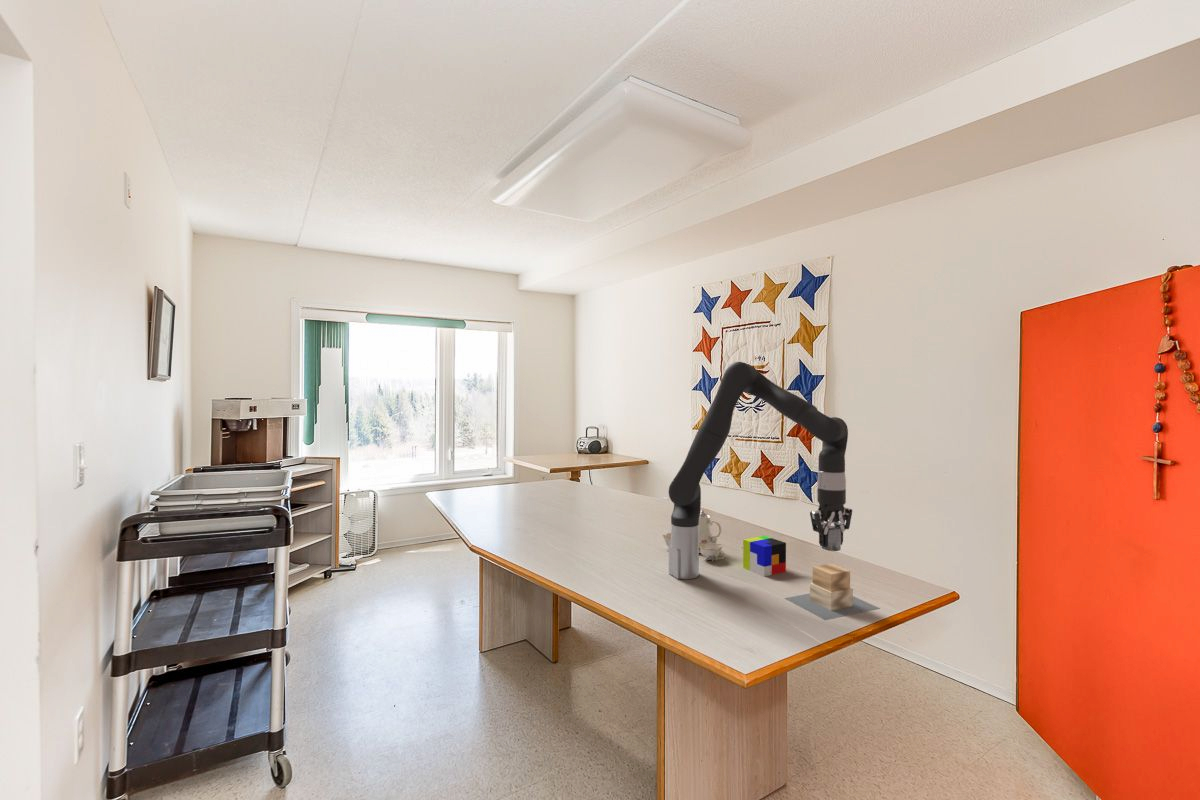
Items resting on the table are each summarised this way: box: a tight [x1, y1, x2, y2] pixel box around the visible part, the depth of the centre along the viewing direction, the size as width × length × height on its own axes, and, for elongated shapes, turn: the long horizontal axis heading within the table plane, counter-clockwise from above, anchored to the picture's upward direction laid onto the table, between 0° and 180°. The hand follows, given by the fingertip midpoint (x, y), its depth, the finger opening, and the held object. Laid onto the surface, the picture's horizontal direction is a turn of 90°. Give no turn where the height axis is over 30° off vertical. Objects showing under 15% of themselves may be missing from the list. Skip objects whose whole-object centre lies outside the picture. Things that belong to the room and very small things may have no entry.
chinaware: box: [662, 508, 726, 562], centre depth 205 cm, size 28×17×17 cm, turn 47°
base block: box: [809, 582, 854, 611], centre depth 155 cm, size 8×8×5 cm
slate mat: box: [784, 593, 881, 621], centre depth 155 cm, size 20×16×1 cm
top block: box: [812, 563, 851, 592], centre depth 155 cm, size 7×7×5 cm
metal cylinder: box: [821, 525, 842, 552], centre depth 154 cm, size 5×5×6 cm
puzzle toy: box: [742, 535, 787, 577], centre depth 185 cm, size 10×10×10 cm
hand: (831, 545), depth 154 cm, fingers closed on metal cylinder, 5 cm apart
